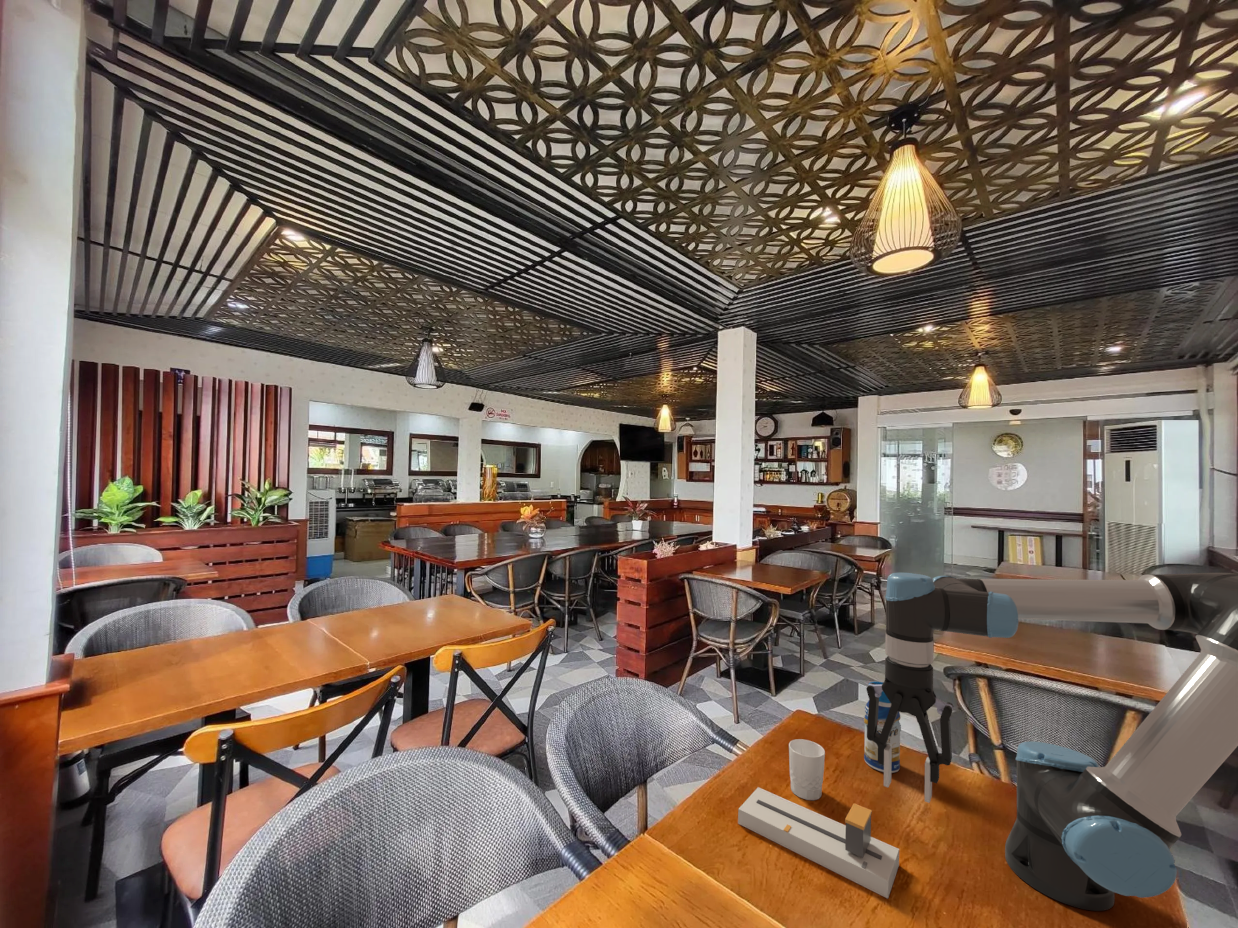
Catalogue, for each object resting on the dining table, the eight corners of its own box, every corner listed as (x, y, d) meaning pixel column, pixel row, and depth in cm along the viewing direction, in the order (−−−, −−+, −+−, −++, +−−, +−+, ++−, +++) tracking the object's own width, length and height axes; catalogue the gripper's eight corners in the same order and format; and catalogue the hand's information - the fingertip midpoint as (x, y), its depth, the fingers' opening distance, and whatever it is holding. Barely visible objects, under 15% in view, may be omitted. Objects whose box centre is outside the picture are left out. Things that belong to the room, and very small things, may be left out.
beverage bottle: (901, 762, 128) (902, 684, 129) (899, 778, 121) (900, 695, 122) (865, 752, 133) (866, 677, 133) (861, 766, 126) (862, 687, 126)
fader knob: (871, 840, 94) (871, 810, 94) (863, 858, 89) (863, 826, 90) (853, 832, 96) (853, 802, 96) (844, 849, 91) (845, 818, 92)
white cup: (818, 782, 118) (818, 740, 118) (828, 803, 110) (829, 758, 111) (784, 779, 119) (785, 737, 119) (792, 800, 111) (793, 755, 111)
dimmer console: (899, 865, 93) (899, 847, 93) (888, 898, 85) (888, 879, 85) (757, 800, 110) (758, 786, 111) (738, 823, 103) (738, 807, 103)
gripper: (973, 667, 86) (972, 803, 85) (858, 643, 98) (856, 761, 97) (970, 680, 80) (969, 825, 79) (848, 652, 92) (846, 778, 91)
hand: (907, 790), depth 88 cm, fingers open, 6 cm apart
